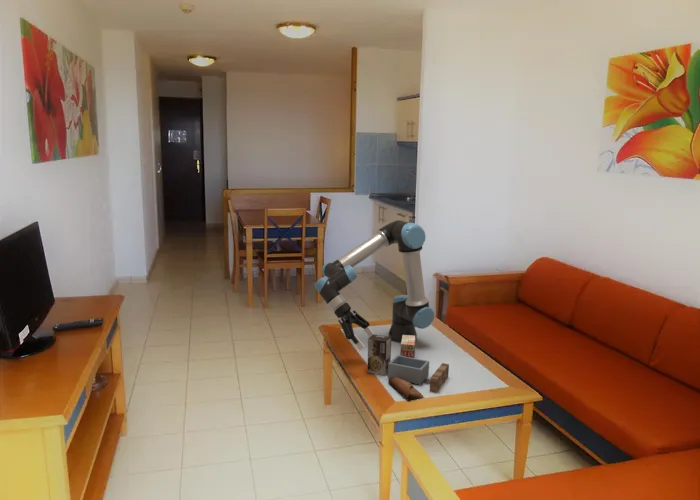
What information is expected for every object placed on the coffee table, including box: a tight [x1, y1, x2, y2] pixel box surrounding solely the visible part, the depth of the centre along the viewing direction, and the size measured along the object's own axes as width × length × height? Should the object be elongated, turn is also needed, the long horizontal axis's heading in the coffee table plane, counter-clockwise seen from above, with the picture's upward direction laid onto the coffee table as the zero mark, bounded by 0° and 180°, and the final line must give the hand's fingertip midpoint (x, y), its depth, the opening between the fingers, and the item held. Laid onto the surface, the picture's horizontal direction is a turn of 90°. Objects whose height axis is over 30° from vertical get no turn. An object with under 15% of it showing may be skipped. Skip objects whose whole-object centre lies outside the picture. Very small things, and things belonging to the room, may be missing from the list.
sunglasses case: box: [387, 377, 425, 402], centre depth 225 cm, size 18×7×7 cm
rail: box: [422, 378, 430, 386], centre depth 238 cm, size 5×20×1 cm, turn 65°
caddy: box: [387, 354, 430, 385], centre depth 238 cm, size 11×15×7 cm
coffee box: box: [367, 333, 392, 376], centre depth 243 cm, size 9×6×16 cm
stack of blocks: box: [400, 335, 416, 358], centre depth 257 cm, size 21×6×12 cm, turn 171°
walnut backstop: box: [429, 362, 450, 394], centre depth 233 cm, size 18×3×6 cm, turn 155°
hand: (368, 344), depth 244 cm, fingers open, 13 cm apart
